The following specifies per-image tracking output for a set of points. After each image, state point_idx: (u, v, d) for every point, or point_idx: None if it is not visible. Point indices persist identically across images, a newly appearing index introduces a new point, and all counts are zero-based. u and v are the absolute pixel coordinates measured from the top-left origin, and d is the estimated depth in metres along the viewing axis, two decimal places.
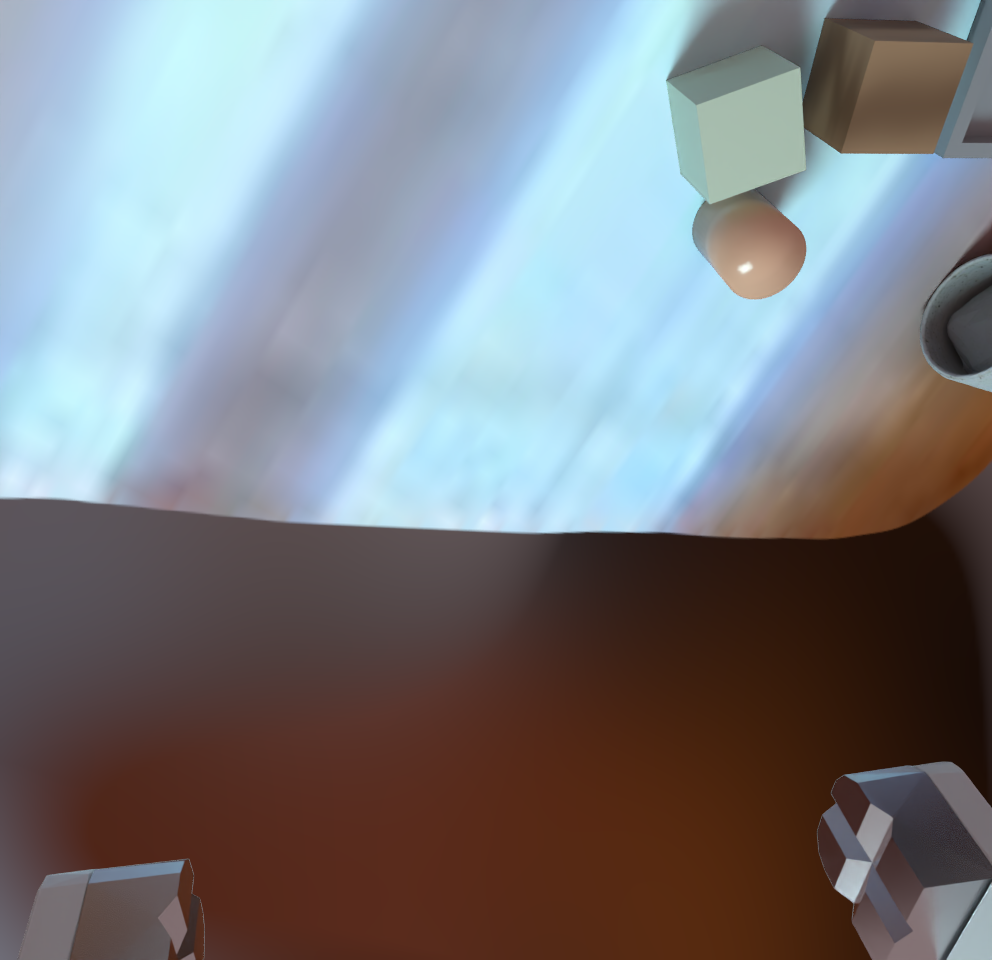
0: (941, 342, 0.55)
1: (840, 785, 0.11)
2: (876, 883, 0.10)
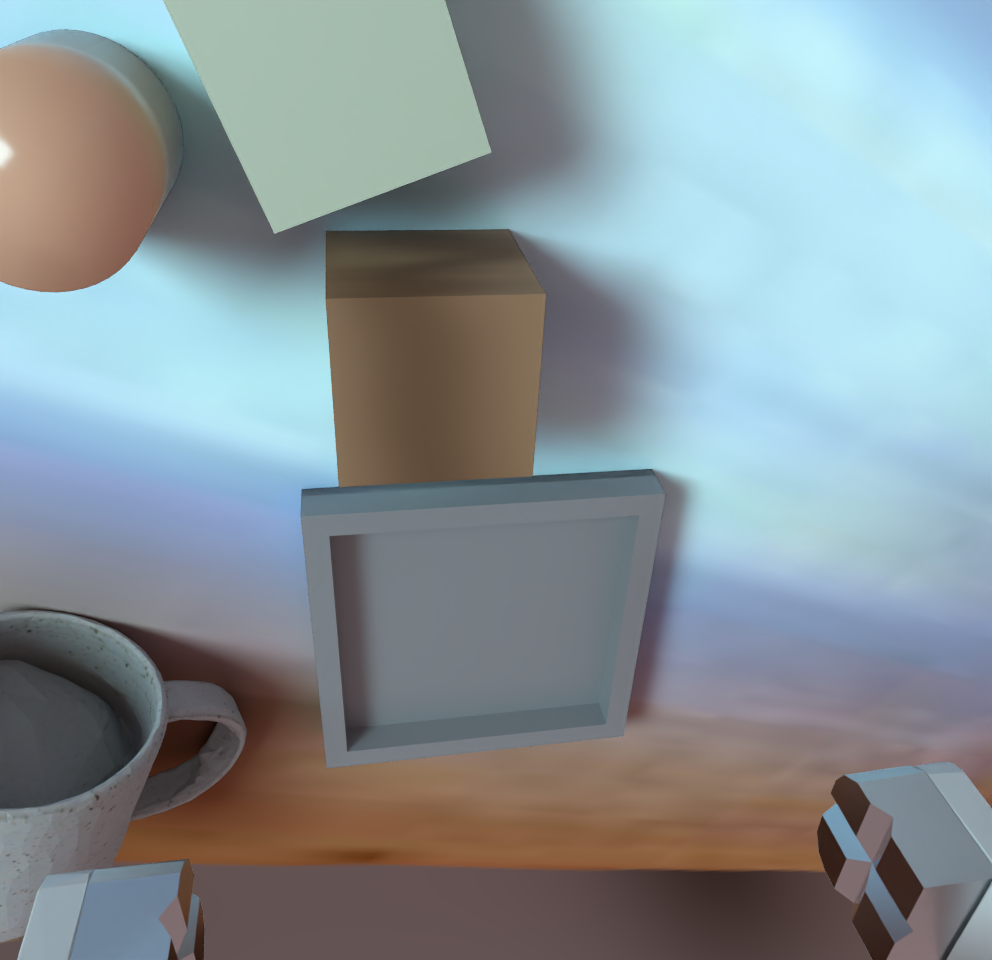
0: None
1: (840, 785, 0.11)
2: (876, 883, 0.10)
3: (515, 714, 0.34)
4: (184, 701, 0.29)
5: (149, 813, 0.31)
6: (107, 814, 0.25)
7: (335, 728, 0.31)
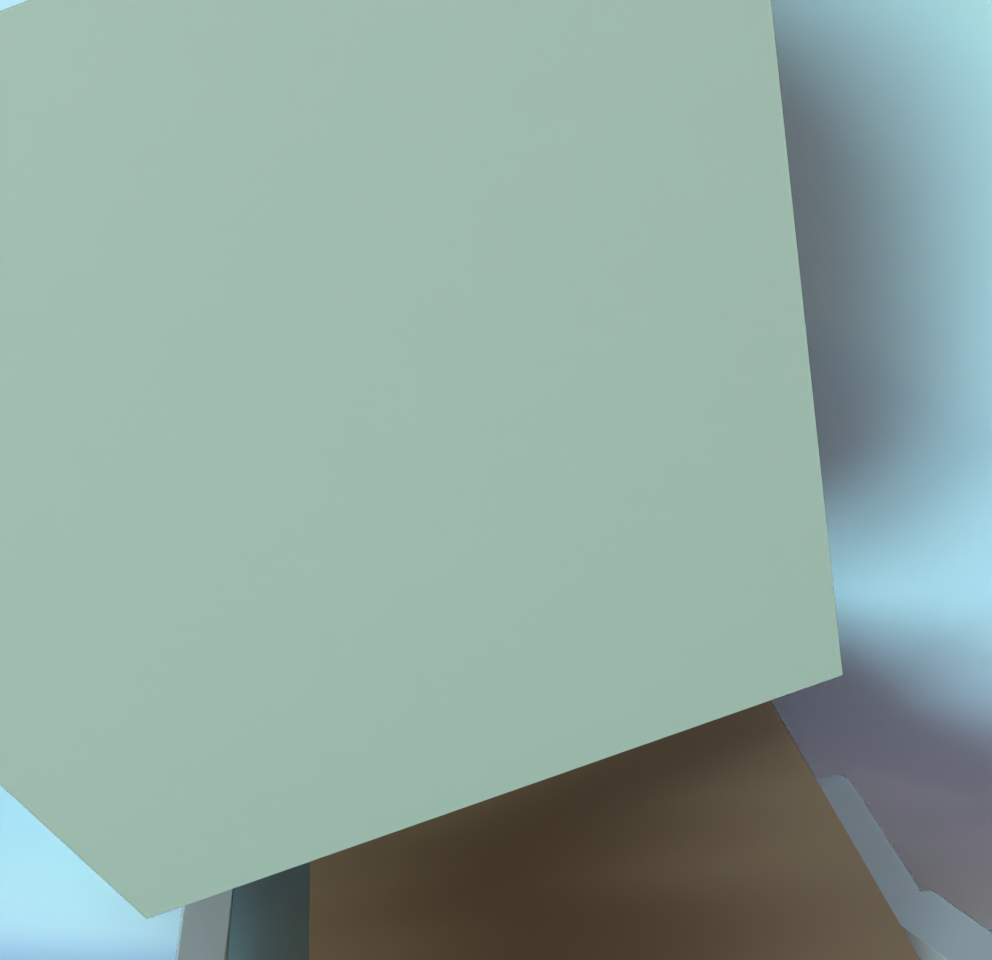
0: None
1: None
2: None
3: None
4: None
5: None
6: None
7: None
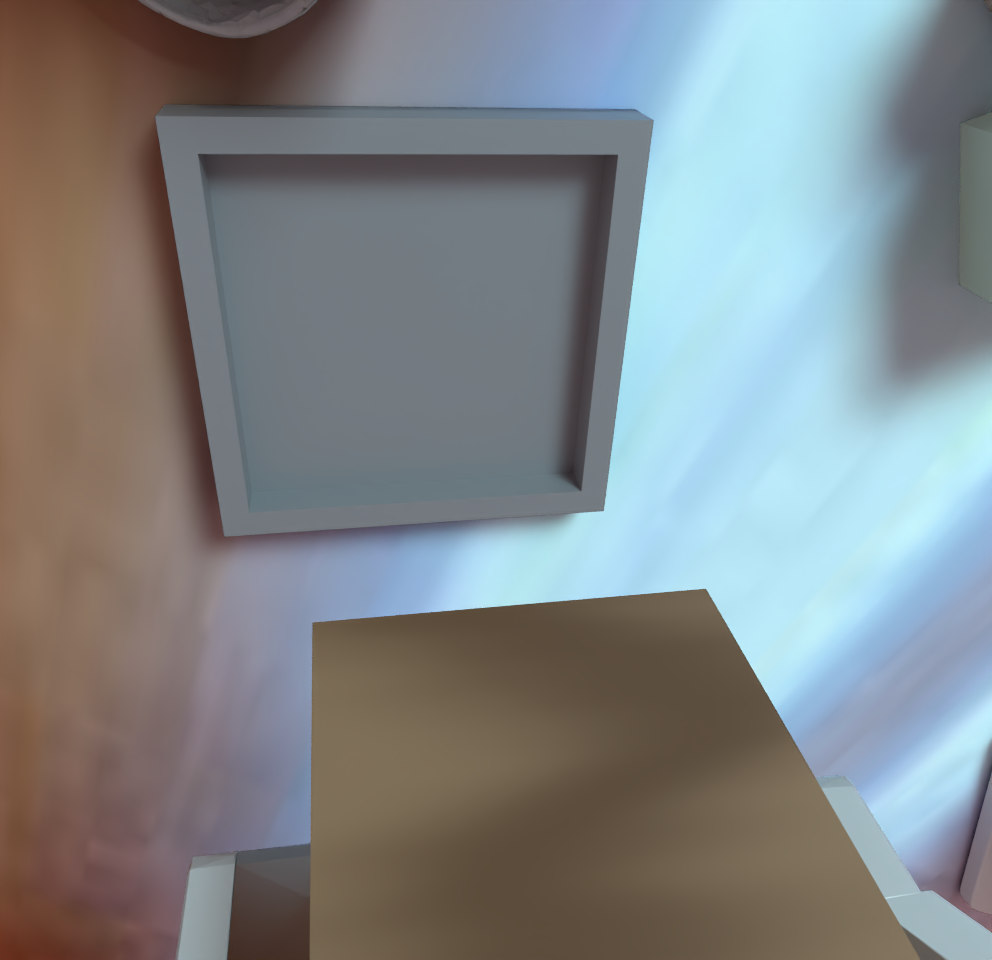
0: None
1: None
2: None
3: (237, 392, 0.24)
4: None
5: None
6: None
7: (255, 138, 0.20)
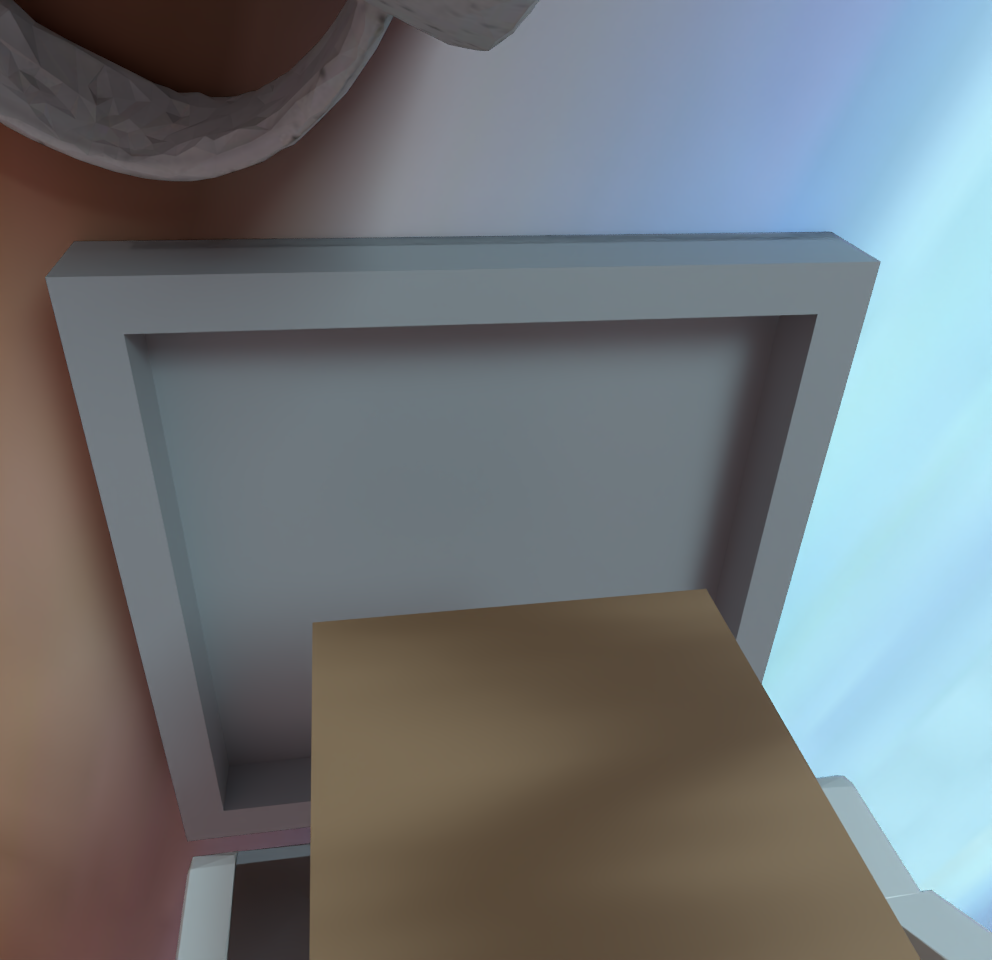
0: None
1: None
2: None
3: (204, 648, 0.16)
4: None
5: None
6: None
7: (223, 307, 0.12)
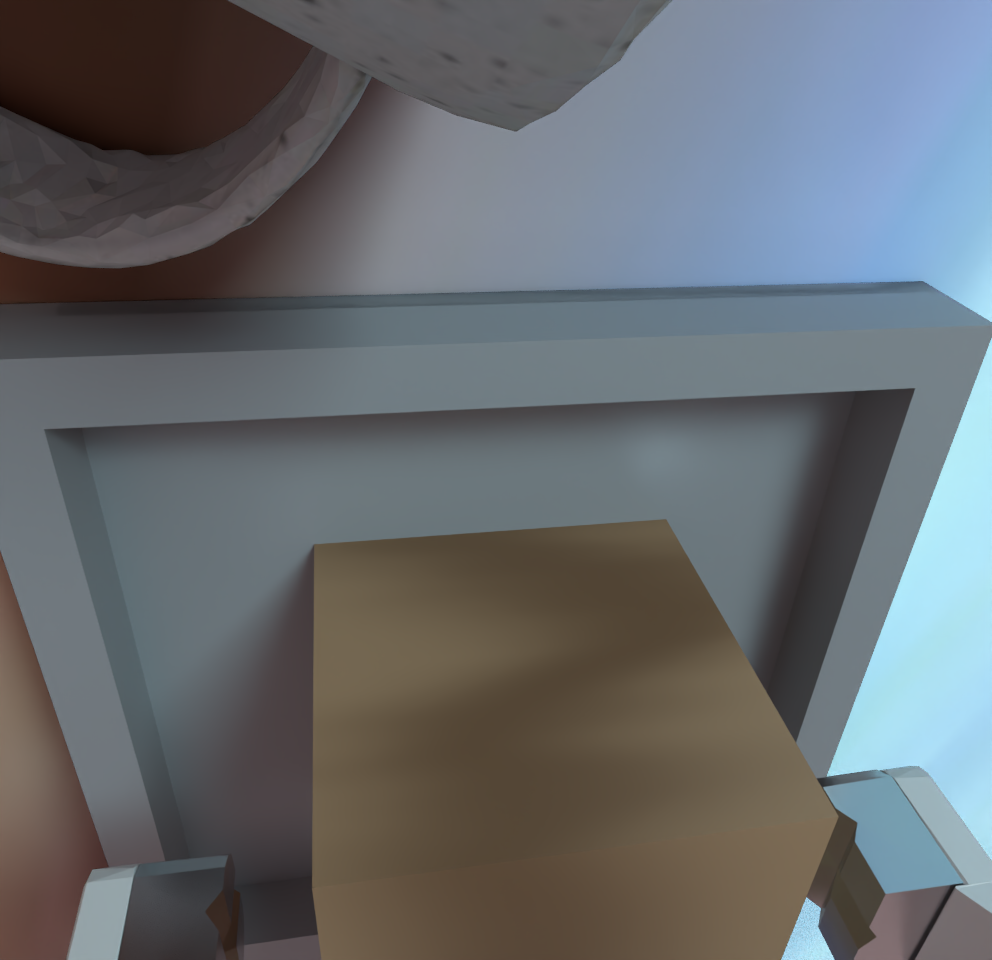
0: None
1: None
2: (841, 888, 0.10)
3: (165, 771, 0.13)
4: None
5: None
6: None
7: (172, 393, 0.09)
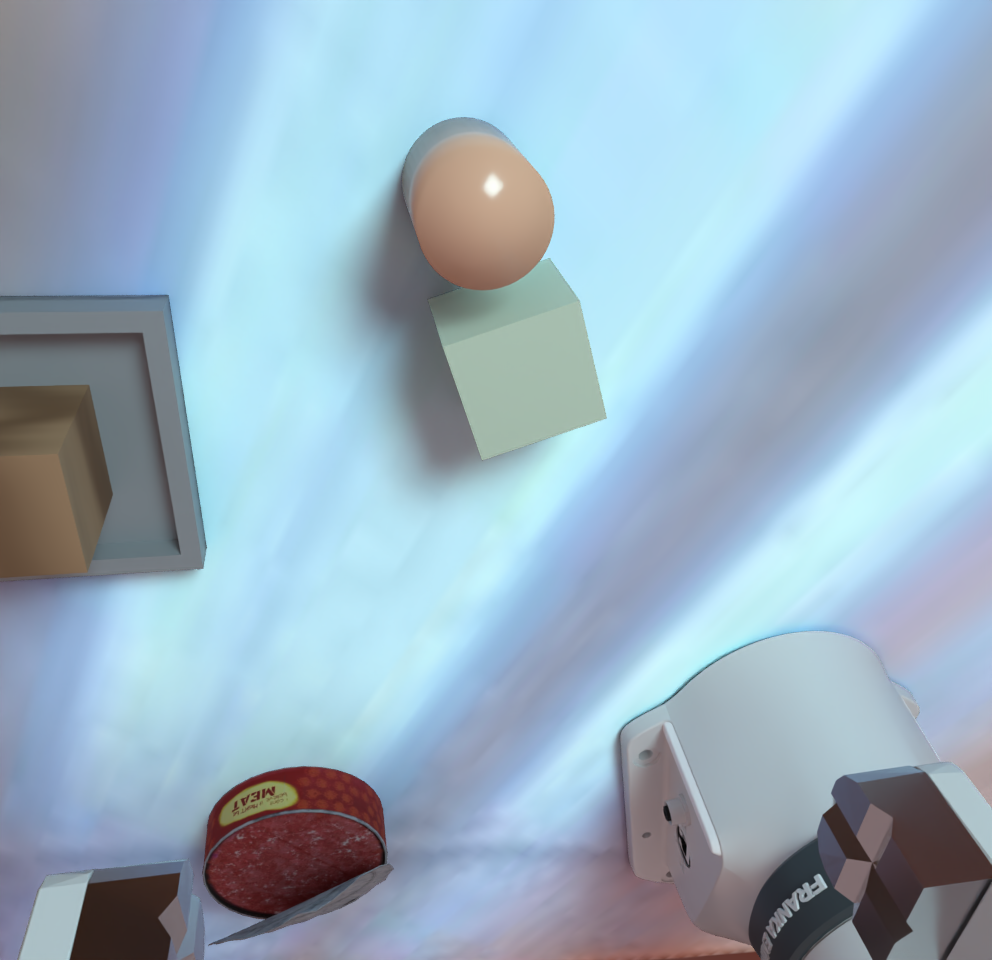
0: None
1: (840, 785, 0.11)
2: (876, 883, 0.10)
3: None
4: None
5: None
6: None
7: None
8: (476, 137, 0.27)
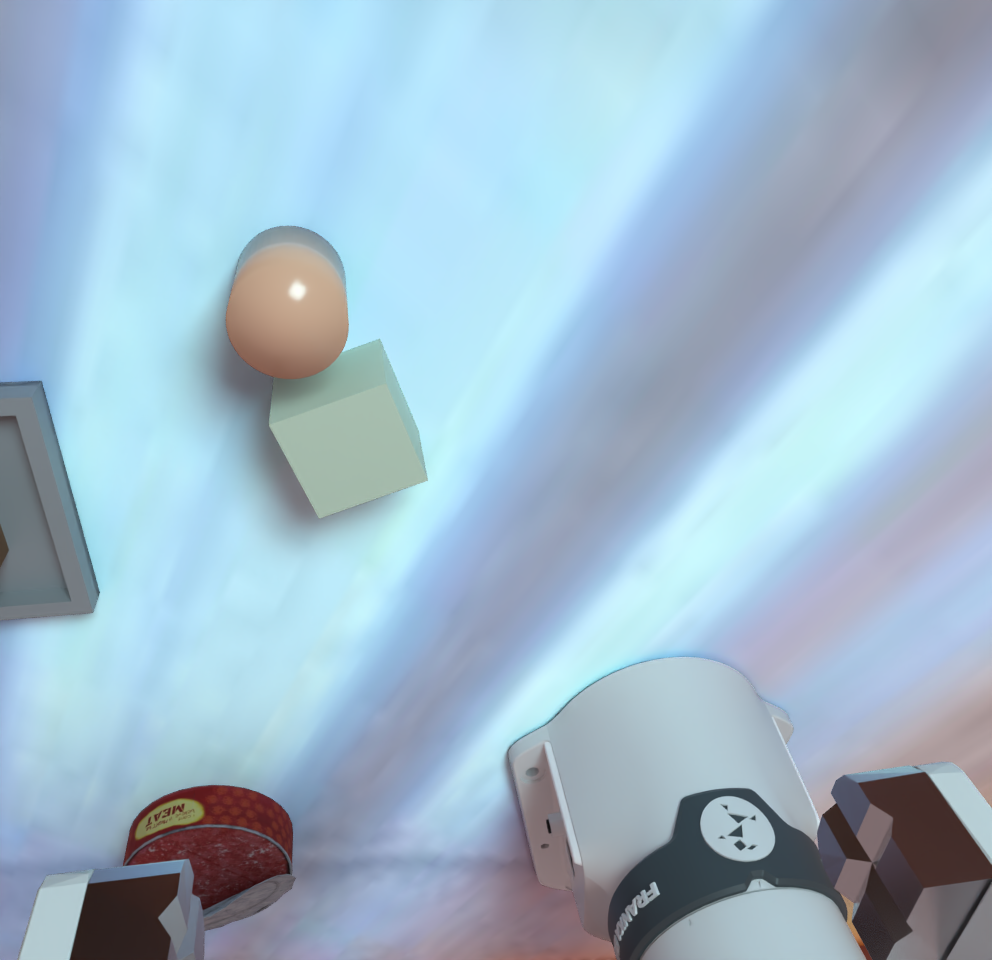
0: None
1: (840, 785, 0.11)
2: (876, 883, 0.10)
3: None
4: None
5: None
6: None
7: None
8: (280, 251, 0.32)
